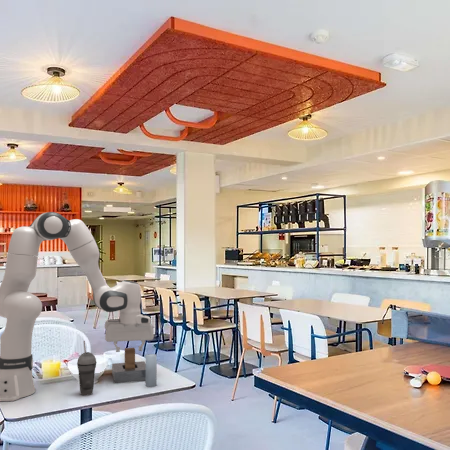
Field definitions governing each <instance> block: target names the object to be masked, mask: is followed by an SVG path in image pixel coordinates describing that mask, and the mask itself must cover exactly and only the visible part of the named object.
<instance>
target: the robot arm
mask: <svg viewBox="0 0 450 450" xmlns="http://www.w3.org/2000/svg"><path fill="white" fill-rule="evenodd" d="M56 239H60V240H62V241H63V242H64V244H65V245H66V247H67V250H68V252H69V253H70V256H71V257H72V258H73V260H74V262H75V263H76V264H77V265H78V267H80V269H81V270H82V271H83V273H84V274H85V276H86V279H87V281H88V283H89V285H90V287H91V290H92V297H93V299H92V301H93V303H94V305H95V307H97V308H98V309H99V310H102V311H104V312H107V313H114V312H119V318H114V319H113V318H110V319H108V320H106V321H105V322H104V329H105V335H104V337H105V338H104V340H105V341H106V342H108V343H110V342H111V343H113V345H114V347H115V353H120V352H121V351H120V350H121V347H120V346H118V342H135V341H140V342H141V344H140V345H139V346H138V352H143V347H144V346H145V344H146V341H152V340H153V339H154V335H155V334H154V327H153V325H152V319H151V317H150V316H148V315H145V314H141V311H142V310H141V302H142V294H141V285H140V284H139V283H138V282H137V281H133V280H125V279H124V280H122V281H121V282H119V283H118V284H115V285H114V286H112V287H110V285H108V284H107V282H106V279H105V278H104V276H103V274H102V272H101V271H102V270H101V269H100V266H99V260H100V255H101V254H100V251H99V250H100V249H99V246H98V245H97V242H96V239H95V237H94V236H93V235H92V232H91V231H90V229H89V228H88V227H87V225H86V223H84V221H83V220H81V219H78V218H75V219H74V218H73V219H70V220H69V219H67V218H66V217H65V216H63V215H62V214H60V213H59V212H55V211H48V212H43V213H41V214H40V215H38V216H37V217H35V219H33V221H32V223H31V224H30V225H29V226H19V227H17V228H15V229H14V230H13V232H12V234H11V237H10V240H9V243H8V248H7V257H6V263H5V269H4V274H3V278H2V281H1V283H0V317H1V318H5V319H6V323H5V327H4V330H3V333H1V336H0V402H15V401H17V400H19V399H22V398H25V397H29V396H31V395H33V394H35V392H36V388H35V383H34V377H33V367H34V358H33V357H34V356H33V353H32V350H33V349H32V345H33V343H32V340H33V338H32V337H33V333H34V332H33V331H34V328H35V323H36V321H37V319H38V317H40V315H41V314H42V311H43V302H42V301H41V299H40V298H39V297H38V296H36V295H35V294H33V293H31V292H29V291H28V290H29V288H30V285H31V283H32V281H33V280H34V279H35V277H36V275H37V267H38V260H39V250H40V246H41V244H42V242H44V241H53V240H56Z"/></svg>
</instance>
